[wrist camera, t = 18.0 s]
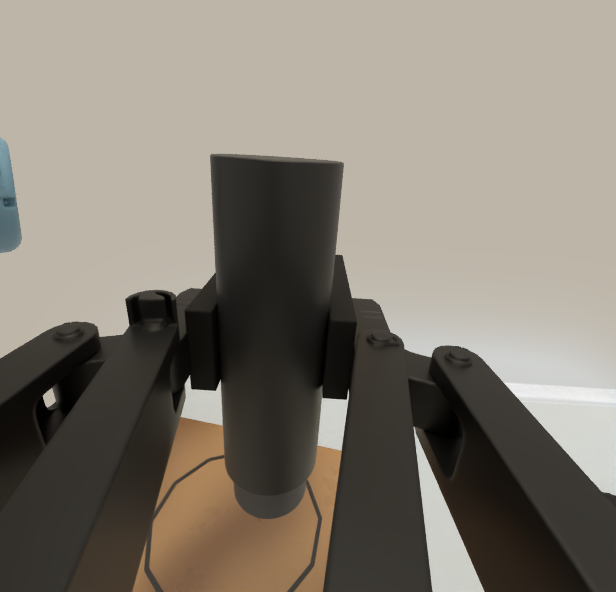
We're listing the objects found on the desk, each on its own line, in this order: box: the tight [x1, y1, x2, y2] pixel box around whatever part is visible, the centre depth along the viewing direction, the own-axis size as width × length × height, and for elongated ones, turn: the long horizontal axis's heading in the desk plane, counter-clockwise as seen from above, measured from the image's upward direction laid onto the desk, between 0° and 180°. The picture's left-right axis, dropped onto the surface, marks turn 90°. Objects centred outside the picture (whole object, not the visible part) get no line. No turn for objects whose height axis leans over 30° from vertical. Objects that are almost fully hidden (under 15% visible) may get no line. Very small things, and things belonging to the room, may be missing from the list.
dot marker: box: [210, 154, 344, 519], centre depth 11 cm, size 3×3×12 cm
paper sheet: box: [132, 417, 342, 592], centre depth 21 cm, size 16×14×1 cm
